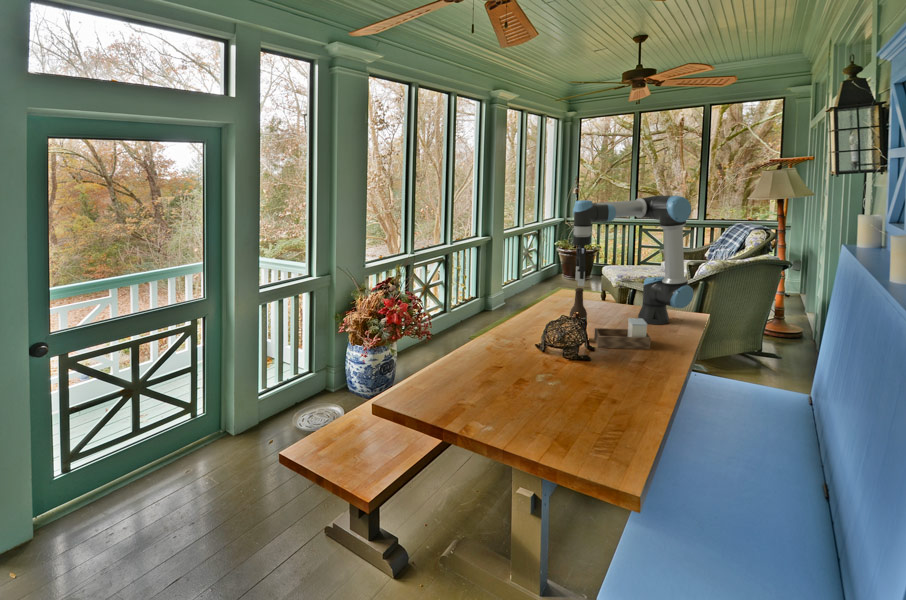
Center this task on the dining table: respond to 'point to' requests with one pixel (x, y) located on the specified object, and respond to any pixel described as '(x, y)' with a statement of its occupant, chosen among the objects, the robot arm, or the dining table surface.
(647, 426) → the dining table surface
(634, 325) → the carton
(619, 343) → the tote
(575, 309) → the beer bottle
